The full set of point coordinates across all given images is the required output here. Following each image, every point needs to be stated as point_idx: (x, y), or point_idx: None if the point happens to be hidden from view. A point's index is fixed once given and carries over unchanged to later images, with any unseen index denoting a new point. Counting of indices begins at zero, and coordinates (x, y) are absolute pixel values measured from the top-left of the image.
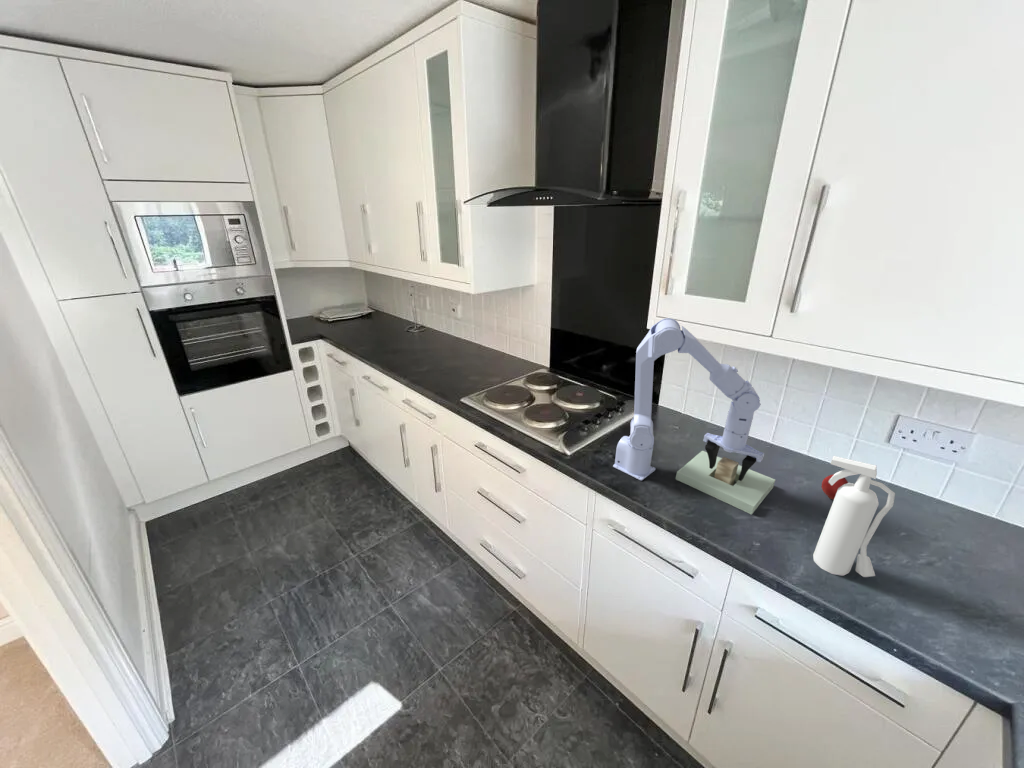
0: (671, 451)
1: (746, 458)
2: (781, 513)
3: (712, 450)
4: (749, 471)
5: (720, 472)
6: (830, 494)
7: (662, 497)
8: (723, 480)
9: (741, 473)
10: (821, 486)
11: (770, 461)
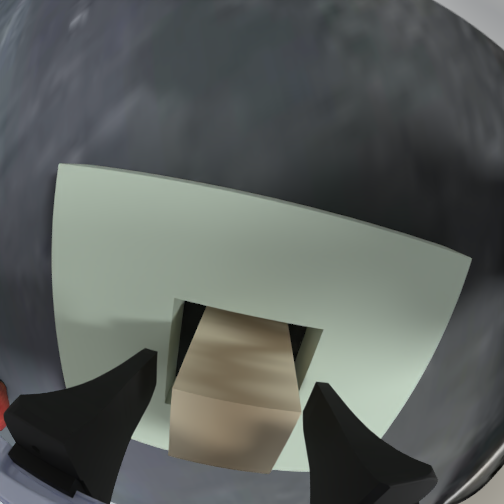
0: (442, 415)
1: (67, 470)
2: (24, 250)
3: (384, 481)
4: (154, 437)
5: (262, 359)
6: None
7: (452, 76)
8: (235, 328)
9: (126, 374)
10: (3, 405)
11: (149, 488)
